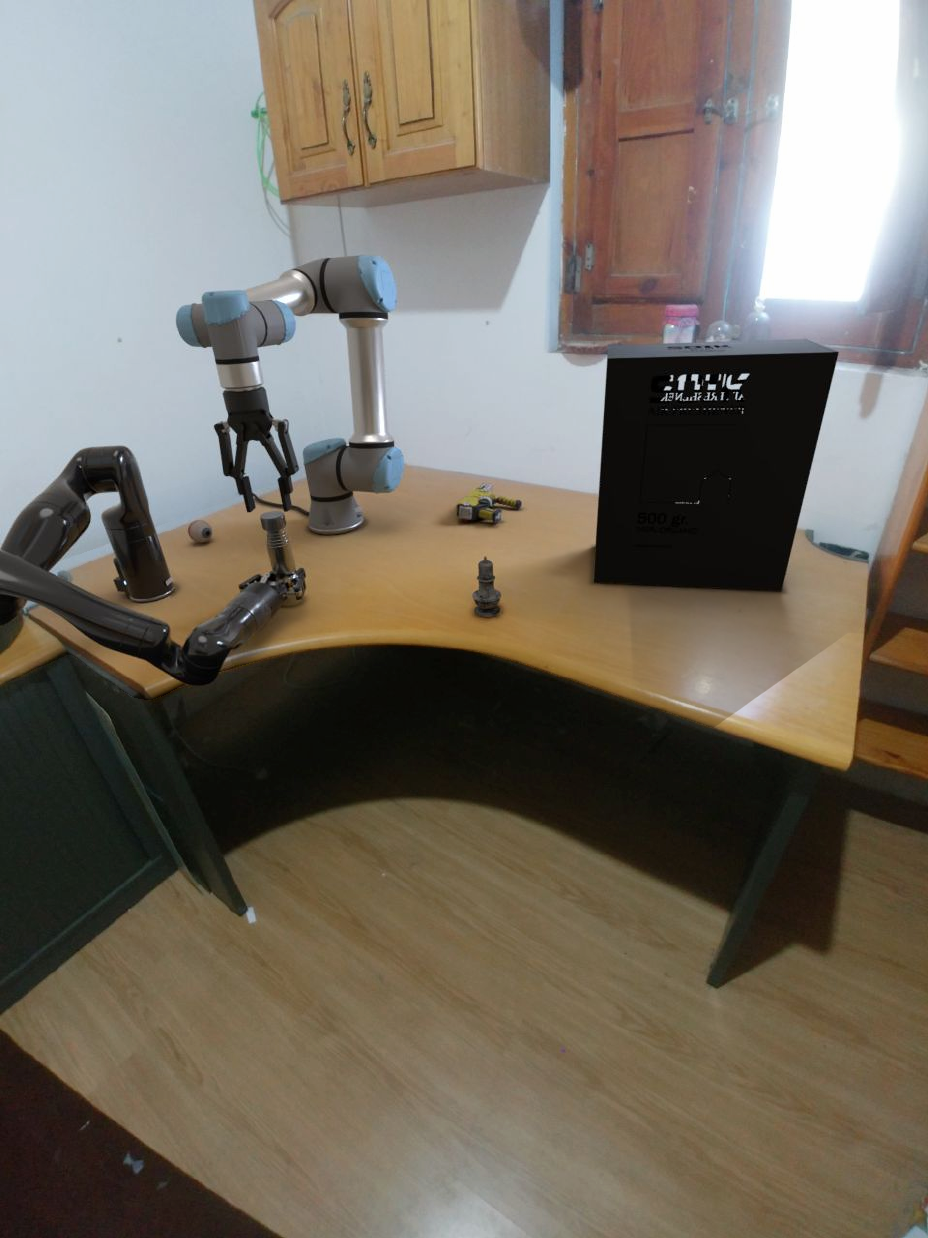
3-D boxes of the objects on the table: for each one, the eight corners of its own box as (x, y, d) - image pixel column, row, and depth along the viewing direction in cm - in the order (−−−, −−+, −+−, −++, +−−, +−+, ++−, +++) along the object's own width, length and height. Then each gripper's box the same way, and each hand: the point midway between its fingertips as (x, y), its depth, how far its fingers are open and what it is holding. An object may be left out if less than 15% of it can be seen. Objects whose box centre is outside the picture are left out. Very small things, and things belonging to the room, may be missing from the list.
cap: (286, 529, 120) (283, 517, 119) (261, 532, 120) (258, 520, 118) (286, 521, 124) (284, 509, 123) (263, 524, 124) (260, 512, 122)
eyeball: (201, 547, 160) (195, 526, 157) (186, 543, 163) (180, 522, 160) (220, 539, 164) (214, 518, 161) (205, 536, 167) (199, 515, 164)
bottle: (302, 604, 129) (283, 519, 119) (279, 608, 128) (259, 522, 119) (302, 595, 133) (284, 511, 123) (280, 598, 132) (260, 514, 123)
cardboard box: (760, 550, 140) (805, 338, 118) (781, 591, 123) (838, 351, 101) (595, 545, 148) (608, 345, 125) (593, 582, 131) (607, 358, 108)
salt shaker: (499, 618, 119) (498, 563, 113) (470, 616, 121) (467, 562, 115) (503, 604, 124) (502, 550, 118) (475, 602, 125) (473, 549, 119)
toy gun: (529, 487, 179) (482, 480, 183) (508, 512, 159) (455, 503, 163) (528, 503, 181) (481, 495, 185) (506, 528, 161) (454, 519, 165)
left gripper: (223, 623, 119) (265, 584, 133) (289, 628, 116) (325, 588, 130) (213, 590, 115) (257, 553, 130) (281, 594, 112) (319, 556, 127)
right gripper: (303, 382, 111) (323, 502, 122) (200, 386, 113) (230, 504, 124) (289, 388, 104) (312, 515, 116) (181, 393, 106) (213, 517, 118)
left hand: (291, 571), depth 130 cm, fingers closed on bottle, 4 cm apart
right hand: (269, 509), depth 120 cm, fingers open, 7 cm apart
